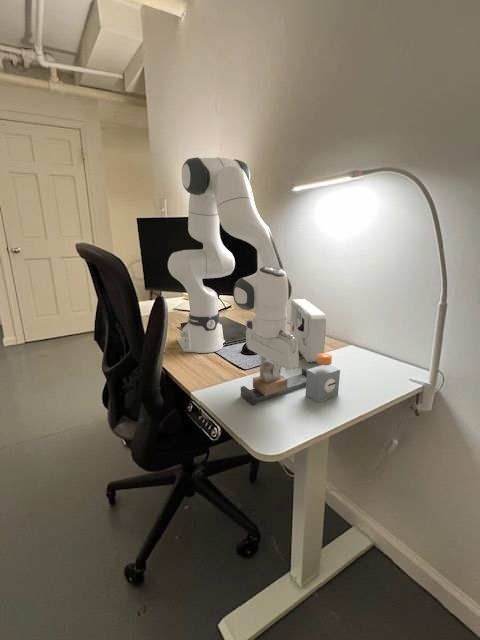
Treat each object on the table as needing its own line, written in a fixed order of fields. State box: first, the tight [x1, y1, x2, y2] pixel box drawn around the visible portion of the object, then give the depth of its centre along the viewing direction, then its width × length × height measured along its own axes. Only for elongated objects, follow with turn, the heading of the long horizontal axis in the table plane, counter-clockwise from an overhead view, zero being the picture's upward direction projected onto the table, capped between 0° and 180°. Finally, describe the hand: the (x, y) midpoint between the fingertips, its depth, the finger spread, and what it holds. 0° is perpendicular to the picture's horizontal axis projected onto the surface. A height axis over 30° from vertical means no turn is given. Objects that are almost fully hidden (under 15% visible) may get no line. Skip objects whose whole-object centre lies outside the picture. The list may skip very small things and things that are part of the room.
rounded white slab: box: [289, 298, 327, 363], centre depth 128 cm, size 29×8×18 cm, turn 6°
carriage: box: [252, 360, 288, 396], centre depth 95 cm, size 6×8×8 cm
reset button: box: [316, 352, 333, 366], centre depth 92 cm, size 4×4×2 cm
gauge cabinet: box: [305, 364, 341, 403], centre depth 94 cm, size 6×8×8 cm
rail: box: [240, 367, 309, 406], centre depth 98 cm, size 6×24×3 cm, turn 122°
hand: (270, 372), depth 95 cm, fingers closed on carriage, 3 cm apart
